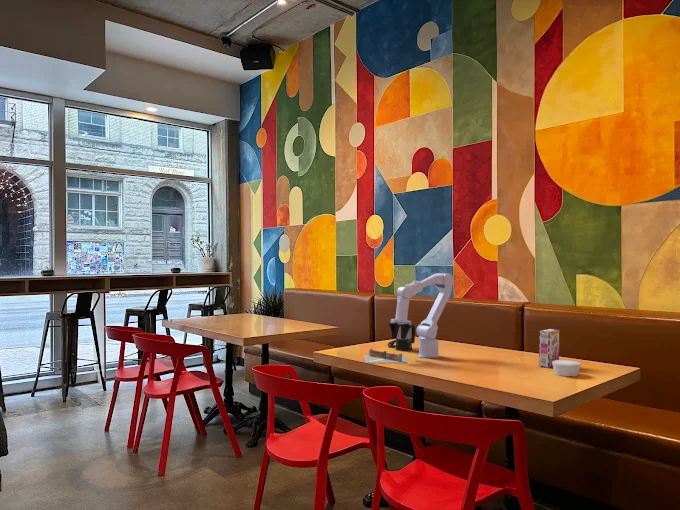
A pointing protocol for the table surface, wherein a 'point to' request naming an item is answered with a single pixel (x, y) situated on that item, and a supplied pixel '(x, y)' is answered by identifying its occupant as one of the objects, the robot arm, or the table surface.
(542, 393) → the table surface
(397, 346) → the milk frother
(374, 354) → the fence fixed
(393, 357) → the fence swing
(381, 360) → the card
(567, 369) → the ramekin
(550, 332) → the candy bar box
